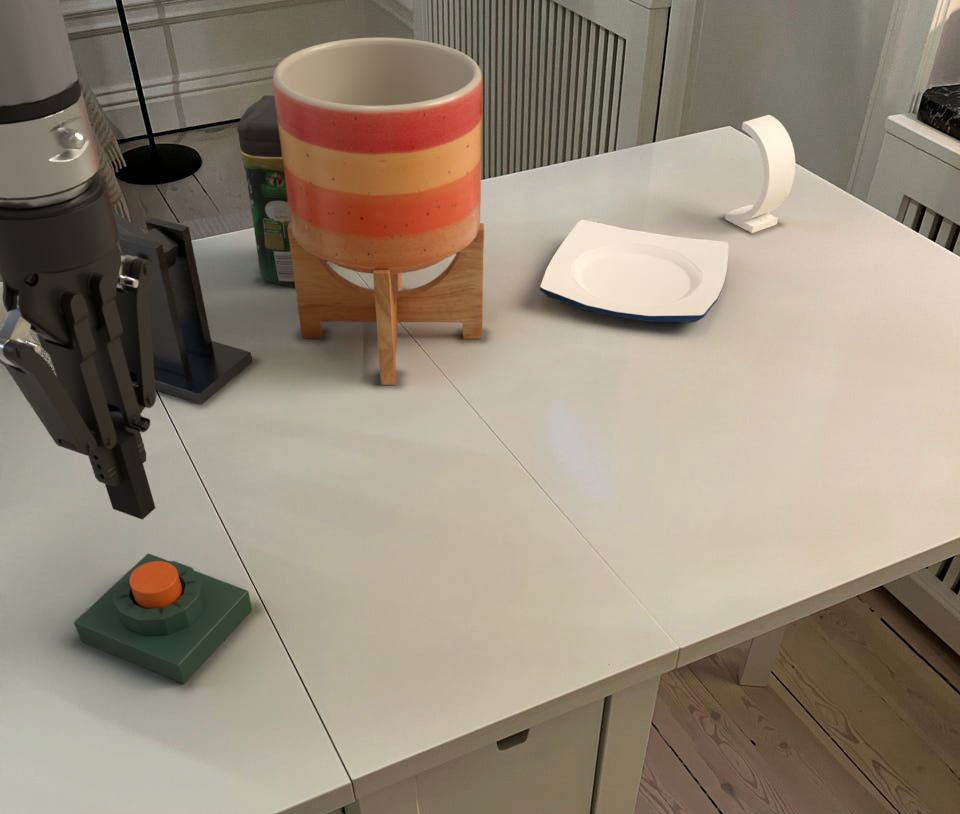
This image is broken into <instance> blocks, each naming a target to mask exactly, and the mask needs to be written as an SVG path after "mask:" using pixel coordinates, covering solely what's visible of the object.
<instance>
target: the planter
mask: <svg viewBox="0 0 960 814" xmlns="http://www.w3.org/2000/svg"><path fill="white" fill-rule="evenodd" d="M272 87H273V96H274V97H275V107H276V115H277V122H278V129H279V136H280V143H281V151H282V159H283V167H284V175H285V184H286V193H287V202H288V209H289V216H290V222H289V225H288V236H289V243H290V250H291V258H292V266H293V273H294V281H295V285H294V288H295V296H296V303H297V304H296V305H297V312H298V313H297V314H298V320H299V327H300V336H301V338H302V339H320V338H321V337H322V334H323V333H322V332H323V328H322V323H332V322H333V323H376V333H377V335H376V336H377V348H378V349H377V350H378V362H379V363H378V364H379V378H380V385H383V386H385V385H387V386H388V385H389V386H391V385H392V386H393V385H394V386H395V385H396V383H397V362H396V355H397V353H396V352H397V341H398V340H397V339H398V330H399V329H398V327H399V323H461V324H462V338H463V339H465V340H467V339H468V340H480V339H482V338H483V312H484V311H483V307H484V306H483V305H484V252H485V251H484V247H485V246H484V245H485V224H484V223H483V222H481V211H482V210H481V205H482V204H481V203H482V128H483V127H482V126H483V74H482V71H481V67H480V66H479V65H478V63H477V62H476V61H475V60H474V59H473V58H471V57H470V56H469V55H468V54H465V53H463V52H462V51H460V50H458V49H455V48H453V47H450V46H446V45H443V44H440V43H436V42H431V41H426V40H420V39H419V40H418V39H414V38H413V39H412V38H401V37H360V38H359V37H358V38H347V39H339V40H334V41H328V42H323V43H320V44H316V45H312V46H309V47H306V48H302V49H300V50H297V51H295V52H293V53H291V54H290V55H288V56H286V57H285V58H284V59H282V60H281V61H280V62H279V63H278V64H277V66H276V67H275V69H274V71H273V75H272ZM454 255H455V256H454ZM452 256H454V257H453V259H452V261H451V262H450V264H448V266H447V267H446V268H444V270H443V272H441V273H440V274H439V275H438V276H436V277H435V278H434V279H432V280H431V281H429V282H427V283H425V284H423V285H421V286H418V287H414V288H410V289H405V290H403V274H405V273H406V274H407V273H411V272H416V271H417V272H418V271H420V270H423V269H427V268H430V267H432V266H435V265H436V264H439V263H440V262H442V261H444V260H445V259H447V258H450V257H452ZM325 260H327V262H326V261H325ZM328 262H329V263H332V264H334V265H335V266H338V267H341V268H343V269H345V270H350V271H353V272H359V273H364V274H371V275H372V274H373V275H372V276H373V289H371V288H367V287H364V286H362V285H358V284H356V283H354V282H352V281H350V280H348V279H346V278H345V277H343V276H342V275H340V274H339V273H338V271H335V269H333V267H331V266H330V264H329V263H328Z"/></svg>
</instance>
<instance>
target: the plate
mask: <svg viewBox="0 0 960 814" xmlns="http://www.w3.org/2000/svg"><path fill="white" fill-rule="evenodd" d="M729 247H730V245H729V242H727V241H723V240H711V239H703V238H702V239H701V238H689V237H681V236H673V235H667V234H661V233H653V232H649V231H642V230H635V229H630V228H623V227H620V226H614V225H611V224H606V223H605V224H604V223H600V222H595V221H592V220H591V221H590V220H587V219H581V220H579V221H578V222H577V223H576V224H575V226H574V227H573V229H572V230H571V231H570V232H569V233H568V235H567V236H566V237H565V239H564V240H563V241H562V243H561V244H560V246H559V247H558V248H557V250H556V252H555V253H554V255H553V256H552V258H551V260H550V261H549V264H548V266H547V267H546V269H545V272H544V274H543V278H542V281H541V284H540V286H539V290H540V291H541V292H542V293H543V294H544V295H545V296H546V297H547V298H549V299H553V300H555V301H558V302H561V303H564V304H567V305H569V306H572V307H575V308H578V309H581V310H584V311H587V312H592V313H596V314H602V315H607V316H613V317H617V318H625V319H631V320H636V321H643V322H653V323H655V322H656V323H657V322H659V323H664V322H665V323H666V322H667V323H695V322H698V321H700V320H701V319H703V318H704V317H705V316H706V315H707V314H708V312H709V311H710V310H711V309H712V308H713V307H714V305H715V304H716V303H717V301H719V297H720V296H721V293H722V290H723V289H724V285H725V281H726V277H727V273H728V262H729Z"/></svg>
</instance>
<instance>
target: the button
mask: <svg viewBox="0 0 960 814" xmlns="http://www.w3.org/2000/svg"><path fill="white" fill-rule="evenodd" d="M129 583H130V586H131V589H132V592H133V595H134V598H135V601H136V602H137V603H138V604H139V605H140V606H142V607H144V608H148V609H158V608H163V607H165V606H168V605H170V604H173V603H174V602H175V601H176V600H177V599H178V598H179V597H180V595H181V592H182V587H181V583H180V579H179V576H178V572H177V570H176V568H175V567H174V566H173V565H171V564H170V563H167V562H163V561H154V562H149V563H145V564H143V565H141V566H139V567H138V568H136V569H135V570H134V571H133V572H132V574H131V576H130V579H129Z"/></svg>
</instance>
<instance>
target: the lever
mask: <svg viewBox="0 0 960 814" xmlns="http://www.w3.org/2000/svg"><path fill="white" fill-rule="evenodd" d="M113 213H114V217H115V221H116V225H117V229H118V235H121V236H123V235H124V234H127V235H130V236H134V237H138V238H142V239H146V240H150V241H153V242H157V243H161V244H162V246H163V250H164V255H165V259H166V264H167V268H170V267H171V266H173V265H174V264H175V263H176V256H177V249H178V243H176V242H175V241H173V240H172V239H170V238H169V237H167V236H166V235H164V234H163V233H161V232H160V231H158V230H157V229H155V228H153V229H152V230H150V231H148V230H147V232H146V231H144V230H142V229H141V228H139V227H138V226H136V225H135V224H133V223H132V222H130V221H129V220H127V219H125V218H124V217H123V216H121V215H120V214H118V213H117V212H116V211H114V210H113Z"/></svg>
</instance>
